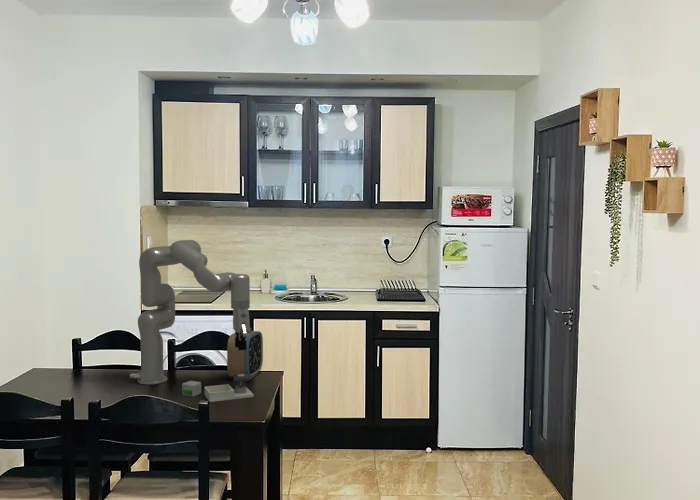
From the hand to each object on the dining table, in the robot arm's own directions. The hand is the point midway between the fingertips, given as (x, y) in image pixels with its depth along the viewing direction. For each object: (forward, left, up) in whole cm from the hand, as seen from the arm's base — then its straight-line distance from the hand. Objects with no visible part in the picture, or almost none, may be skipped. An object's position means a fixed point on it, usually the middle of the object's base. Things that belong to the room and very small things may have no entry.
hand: (240, 348), depth 273 cm
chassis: (-5, 0, -19) cm, 20 cm away
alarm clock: (+9, +27, -20) cm, 35 cm away
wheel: (0, 0, -16) cm, 16 cm away
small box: (-19, +9, -20) cm, 28 cm away
